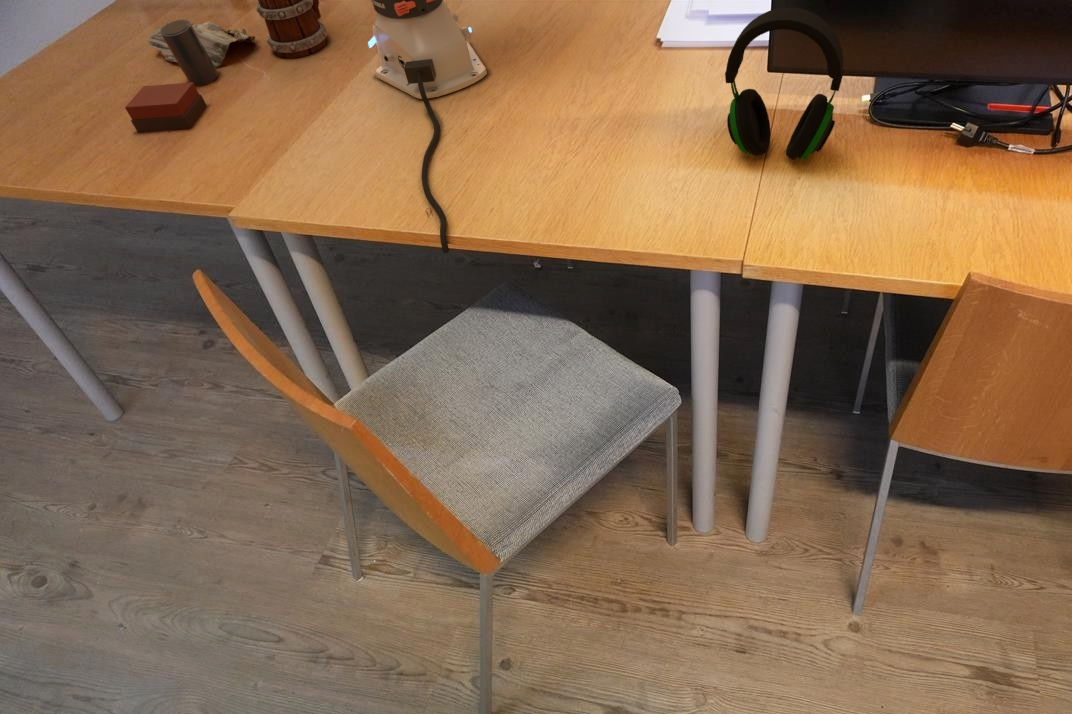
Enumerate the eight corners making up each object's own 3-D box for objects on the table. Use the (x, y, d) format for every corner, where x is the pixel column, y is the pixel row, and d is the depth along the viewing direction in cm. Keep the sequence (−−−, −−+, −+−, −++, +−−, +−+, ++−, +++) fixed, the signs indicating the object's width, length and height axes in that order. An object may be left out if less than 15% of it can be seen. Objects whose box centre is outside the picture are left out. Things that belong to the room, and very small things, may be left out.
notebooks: (190, 128, 137) (176, 103, 133) (137, 132, 138) (122, 107, 134) (207, 106, 142) (194, 81, 139) (156, 109, 143) (142, 85, 140)
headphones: (826, 175, 109) (846, 32, 94) (717, 164, 114) (720, 26, 99) (835, 140, 115) (856, 0, 100) (731, 131, 119) (736, -5, 104)
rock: (225, 88, 153) (275, 46, 160) (210, 57, 147) (261, 14, 154) (139, 55, 159) (190, 15, 166) (121, 23, 153) (174, -16, 160)
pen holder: (212, 84, 148) (184, 34, 140) (185, 87, 148) (155, 36, 140) (221, 68, 151) (194, 17, 143) (194, 70, 152) (166, 20, 143)
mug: (255, 57, 153) (230, -28, 144) (303, 38, 163) (283, -43, 154) (302, 62, 150) (279, -24, 140) (348, 43, 160) (330, -39, 150)
